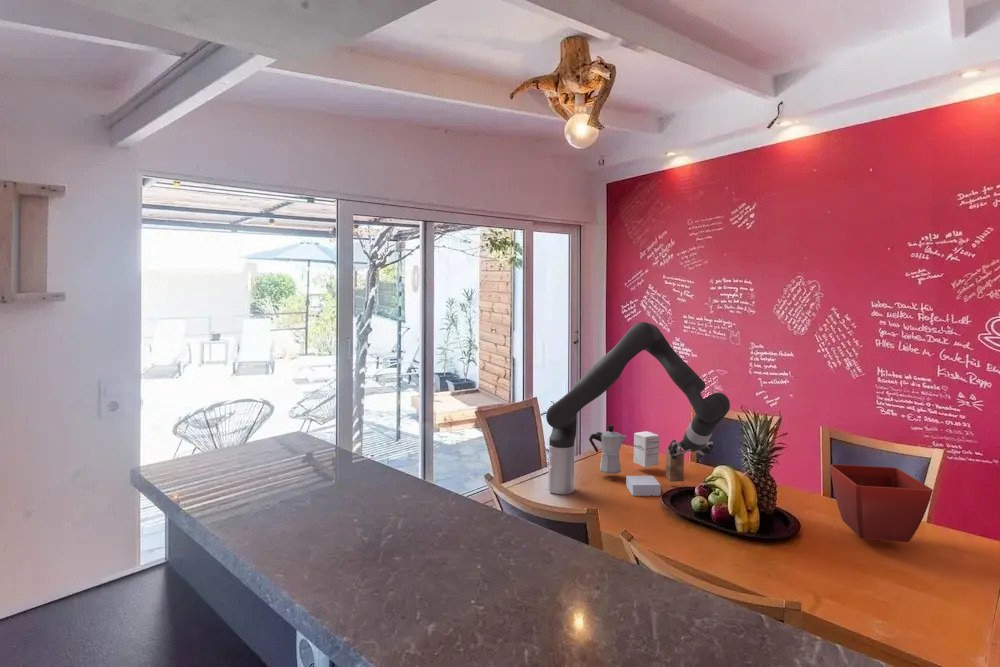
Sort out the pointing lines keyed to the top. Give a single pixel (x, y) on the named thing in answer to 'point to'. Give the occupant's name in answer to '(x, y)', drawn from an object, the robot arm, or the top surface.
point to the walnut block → (674, 467)
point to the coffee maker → (609, 449)
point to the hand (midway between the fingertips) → (685, 457)
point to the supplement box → (646, 449)
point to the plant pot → (880, 501)
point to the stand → (643, 485)
